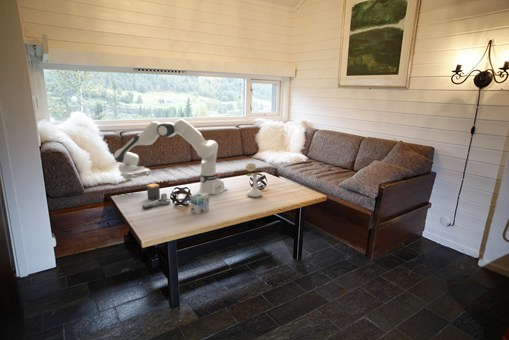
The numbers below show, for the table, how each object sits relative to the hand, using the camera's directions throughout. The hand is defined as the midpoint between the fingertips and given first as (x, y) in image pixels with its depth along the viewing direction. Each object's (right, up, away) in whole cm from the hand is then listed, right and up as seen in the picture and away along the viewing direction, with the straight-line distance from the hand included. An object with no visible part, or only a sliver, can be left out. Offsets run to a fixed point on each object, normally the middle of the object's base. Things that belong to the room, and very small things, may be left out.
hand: (142, 175), depth 220 cm
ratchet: (+16, -19, -17) cm, 30 cm away
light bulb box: (+46, -22, -23) cm, 56 cm away
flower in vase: (+81, -15, +7) cm, 82 cm away
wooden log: (+10, -16, -5) cm, 19 cm away
